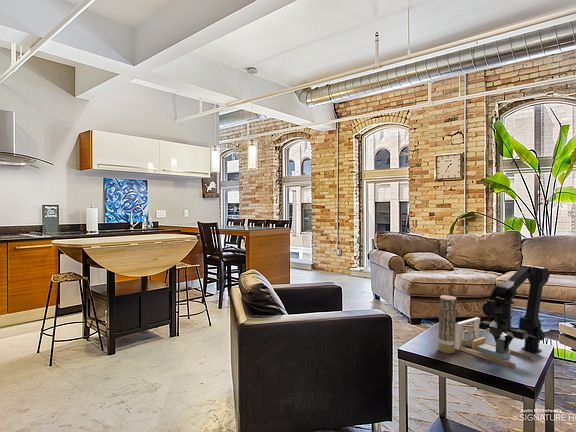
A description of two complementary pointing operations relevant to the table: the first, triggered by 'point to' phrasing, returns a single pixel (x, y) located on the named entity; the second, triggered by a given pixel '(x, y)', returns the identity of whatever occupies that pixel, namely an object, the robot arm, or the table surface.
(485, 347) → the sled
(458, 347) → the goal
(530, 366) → the table surface
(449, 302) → the bark log
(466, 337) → the game die
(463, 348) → the rails
